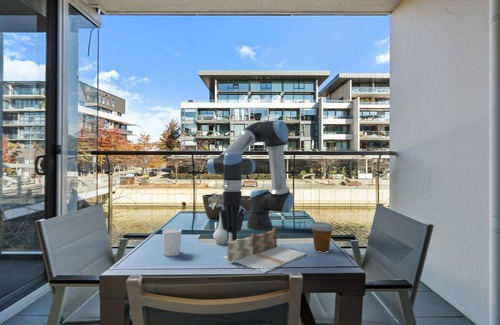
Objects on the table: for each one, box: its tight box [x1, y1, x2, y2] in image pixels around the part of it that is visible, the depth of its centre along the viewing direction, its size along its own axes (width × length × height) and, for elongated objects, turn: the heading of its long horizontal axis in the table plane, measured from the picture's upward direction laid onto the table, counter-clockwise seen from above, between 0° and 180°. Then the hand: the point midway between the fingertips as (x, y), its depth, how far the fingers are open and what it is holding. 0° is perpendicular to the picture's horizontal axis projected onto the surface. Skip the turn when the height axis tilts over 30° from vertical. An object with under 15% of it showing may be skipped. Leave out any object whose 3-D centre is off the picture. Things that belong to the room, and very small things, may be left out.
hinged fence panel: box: [227, 236, 253, 263], centre depth 111 cm, size 13×2×7 cm, turn 137°
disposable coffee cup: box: [310, 221, 334, 252], centre depth 124 cm, size 10×10×12 cm
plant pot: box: [201, 193, 220, 219], centre depth 195 cm, size 15×15×16 cm
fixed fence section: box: [251, 227, 278, 254], centre depth 122 cm, size 16×2×8 cm, turn 137°
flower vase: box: [208, 192, 228, 245], centre depth 135 cm, size 13×18×25 cm
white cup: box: [162, 228, 183, 257], centre depth 117 cm, size 8×8×10 cm
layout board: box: [223, 245, 307, 269], centre depth 115 cm, size 28×22×1 cm
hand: (231, 247), depth 112 cm, fingers closed
